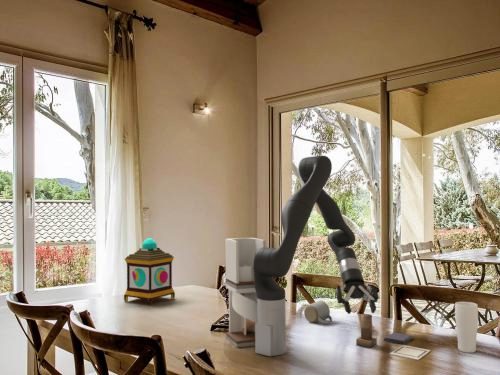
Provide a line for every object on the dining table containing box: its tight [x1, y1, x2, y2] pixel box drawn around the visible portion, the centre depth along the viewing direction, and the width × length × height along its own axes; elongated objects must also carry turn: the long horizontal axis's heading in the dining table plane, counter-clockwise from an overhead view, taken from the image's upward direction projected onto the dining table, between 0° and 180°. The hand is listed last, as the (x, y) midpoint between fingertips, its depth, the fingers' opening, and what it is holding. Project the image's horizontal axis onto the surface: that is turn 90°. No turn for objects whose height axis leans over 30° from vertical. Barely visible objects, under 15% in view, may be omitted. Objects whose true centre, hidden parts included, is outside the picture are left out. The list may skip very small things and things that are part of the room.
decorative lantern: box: [123, 237, 176, 306], centre depth 238 cm, size 20×20×30 cm
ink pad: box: [383, 332, 415, 346], centre depth 171 cm, size 9×7×1 cm
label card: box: [389, 344, 432, 361], centre depth 157 cm, size 11×9×1 cm
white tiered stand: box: [224, 237, 267, 348], centre depth 171 cm, size 11×11×35 cm
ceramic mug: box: [303, 300, 333, 325], centre depth 196 cm, size 11×8×8 cm
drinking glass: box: [454, 301, 479, 354], centre depth 158 cm, size 7×7×15 cm
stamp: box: [355, 313, 378, 349], centre depth 165 cm, size 5×5×10 cm
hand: (361, 312), depth 170 cm, fingers open, 8 cm apart
